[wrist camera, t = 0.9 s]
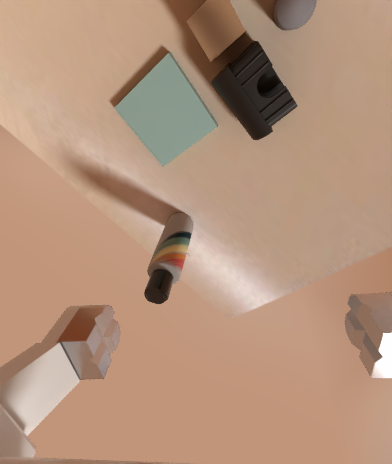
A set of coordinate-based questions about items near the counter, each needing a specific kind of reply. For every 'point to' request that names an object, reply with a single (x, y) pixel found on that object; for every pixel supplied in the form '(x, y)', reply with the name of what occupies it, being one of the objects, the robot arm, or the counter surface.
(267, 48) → the counter surface
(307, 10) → the grey rounded piece
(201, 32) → the walnut block
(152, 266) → the lotion bottle
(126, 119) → the teal board
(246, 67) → the end cap
